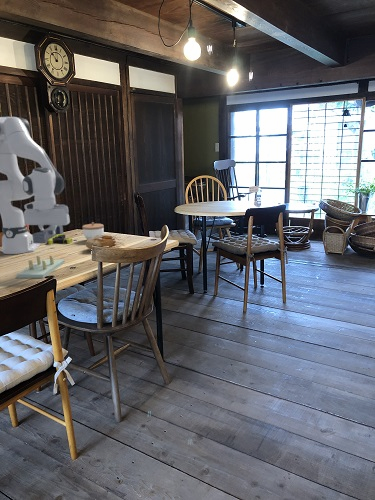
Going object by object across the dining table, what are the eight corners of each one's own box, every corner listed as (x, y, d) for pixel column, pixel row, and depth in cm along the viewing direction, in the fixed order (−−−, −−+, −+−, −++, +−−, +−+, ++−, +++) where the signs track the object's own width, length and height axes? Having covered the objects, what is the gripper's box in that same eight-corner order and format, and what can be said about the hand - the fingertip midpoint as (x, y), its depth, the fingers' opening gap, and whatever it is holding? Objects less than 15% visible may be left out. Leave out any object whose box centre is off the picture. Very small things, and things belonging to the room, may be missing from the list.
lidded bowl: (107, 237, 252) (105, 220, 249) (101, 242, 240) (99, 224, 237) (87, 237, 253) (86, 220, 251) (80, 242, 241) (78, 224, 238)
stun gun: (77, 233, 256) (53, 234, 256) (70, 239, 238) (44, 240, 237) (77, 237, 257) (53, 238, 257) (70, 244, 239) (44, 245, 238)
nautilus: (126, 246, 231) (123, 254, 217) (89, 245, 231) (82, 253, 217) (126, 233, 229) (122, 240, 215) (88, 231, 228) (82, 238, 214)
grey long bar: (52, 232, 197) (51, 224, 196) (63, 232, 196) (62, 224, 195) (33, 243, 176) (32, 234, 175) (44, 243, 176) (44, 234, 175)
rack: (41, 262, 200) (40, 251, 199) (64, 262, 199) (63, 251, 198) (17, 277, 177) (15, 265, 176) (43, 277, 176) (41, 265, 175)
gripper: (70, 203, 184) (73, 232, 188) (27, 203, 186) (30, 232, 190) (65, 205, 178) (68, 235, 182) (20, 205, 180) (24, 235, 184)
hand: (48, 234), depth 186 cm, fingers closed on grey long bar, 3 cm apart
